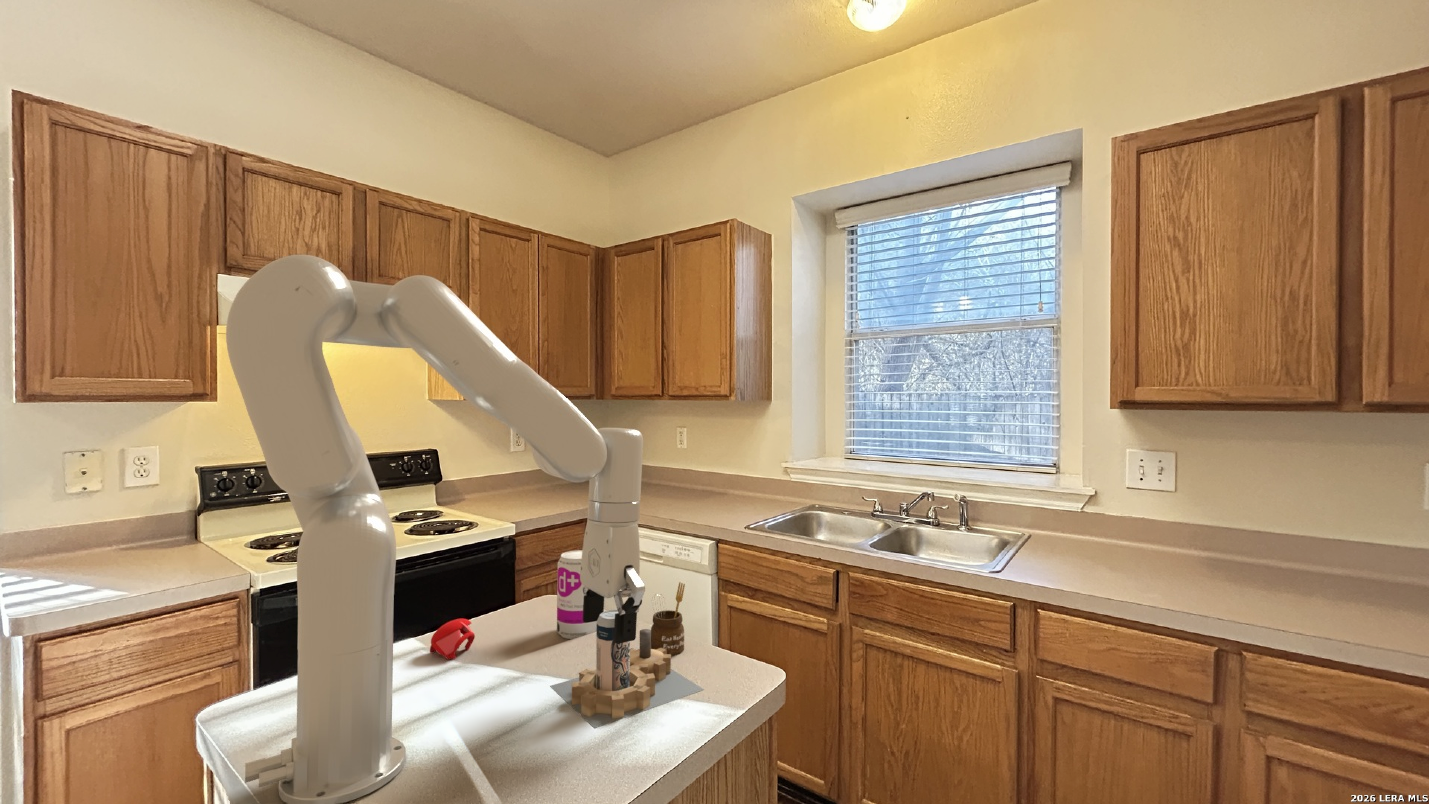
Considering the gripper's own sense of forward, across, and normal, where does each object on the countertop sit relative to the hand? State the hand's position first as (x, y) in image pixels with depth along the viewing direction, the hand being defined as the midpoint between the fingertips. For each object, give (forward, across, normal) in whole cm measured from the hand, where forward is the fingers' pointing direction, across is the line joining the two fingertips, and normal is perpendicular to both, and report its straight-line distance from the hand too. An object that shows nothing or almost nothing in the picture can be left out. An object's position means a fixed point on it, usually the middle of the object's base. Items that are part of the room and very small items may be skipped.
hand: (608, 630), depth 86 cm
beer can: (+10, 0, +1) cm, 10 cm away
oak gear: (+10, 0, +1) cm, 10 cm away
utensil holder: (+10, -10, +17) cm, 23 cm away
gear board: (+11, -1, +4) cm, 12 cm away
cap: (+12, -33, -12) cm, 37 cm away
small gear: (+9, -4, +9) cm, 14 cm away
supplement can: (+11, -29, +9) cm, 32 cm away
